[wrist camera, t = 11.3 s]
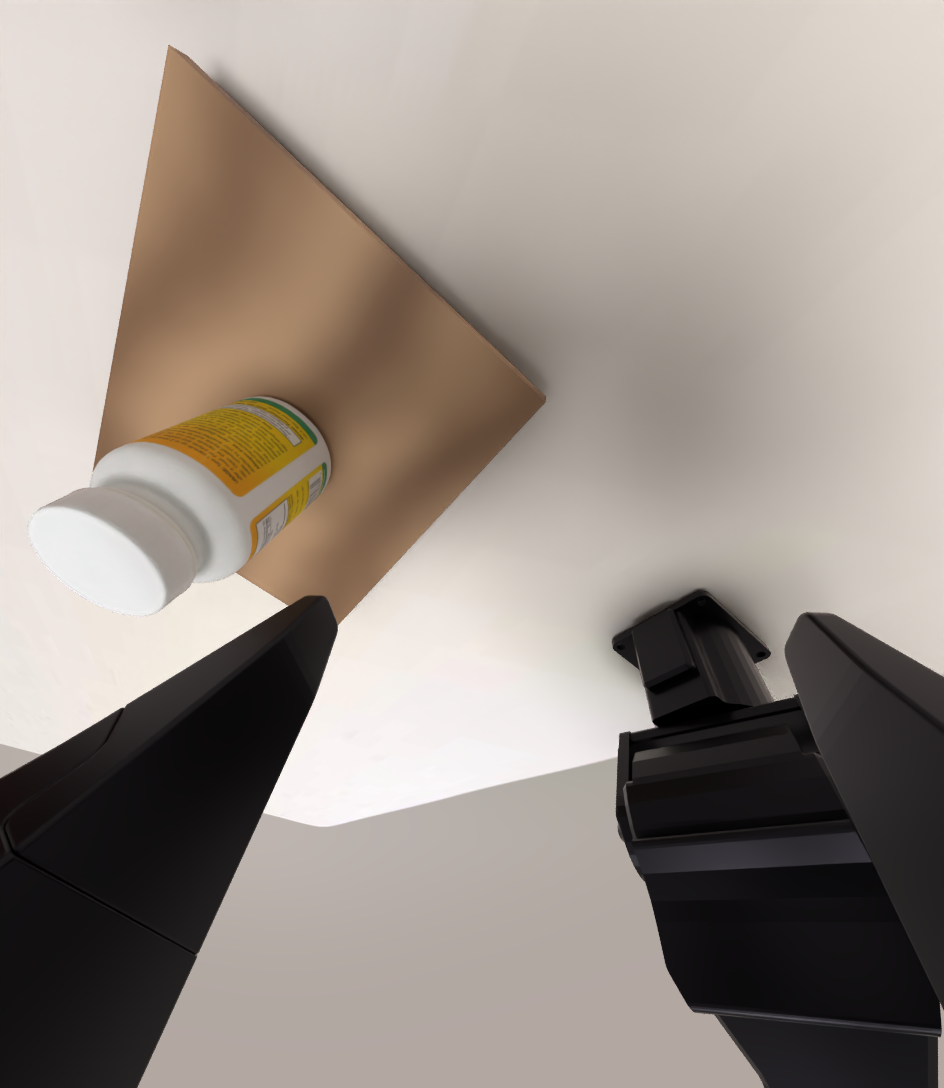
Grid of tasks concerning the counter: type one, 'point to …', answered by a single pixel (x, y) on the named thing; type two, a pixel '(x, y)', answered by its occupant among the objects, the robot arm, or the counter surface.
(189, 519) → the supplement bottle
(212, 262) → the peg shelf
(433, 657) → the counter surface
